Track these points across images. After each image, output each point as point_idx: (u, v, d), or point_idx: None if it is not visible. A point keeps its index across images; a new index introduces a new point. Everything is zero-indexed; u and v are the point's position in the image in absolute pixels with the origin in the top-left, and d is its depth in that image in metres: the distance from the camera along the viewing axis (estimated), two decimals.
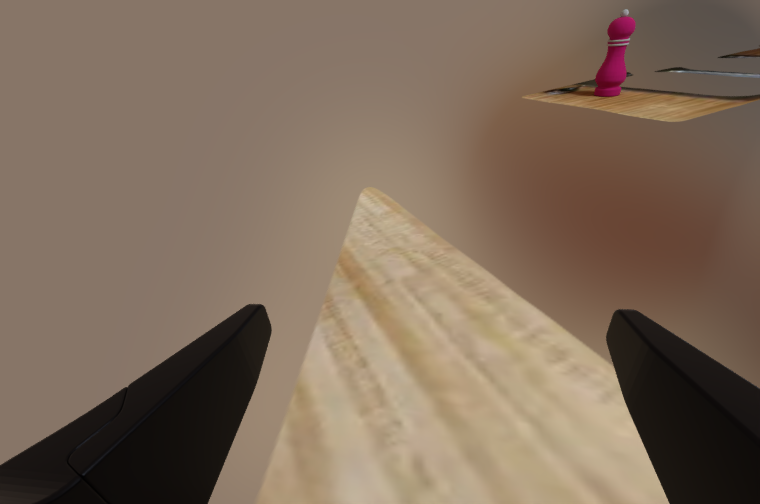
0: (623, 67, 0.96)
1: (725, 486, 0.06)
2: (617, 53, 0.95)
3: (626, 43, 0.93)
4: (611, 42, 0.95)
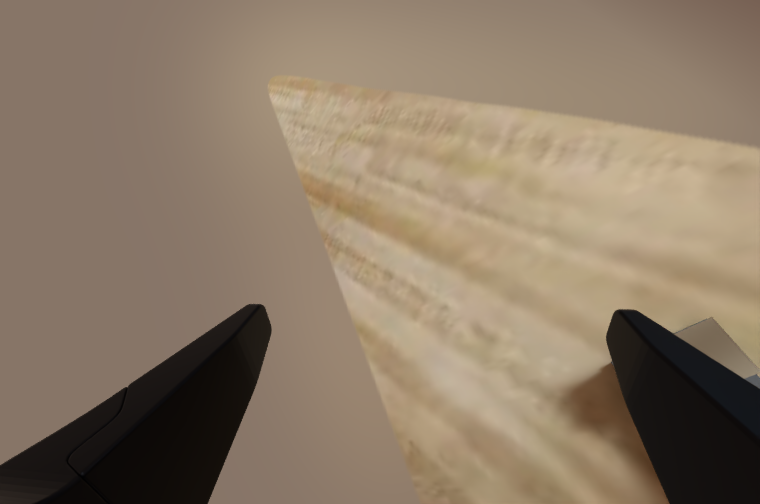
0: None
1: (725, 486, 0.06)
2: None
3: None
4: None
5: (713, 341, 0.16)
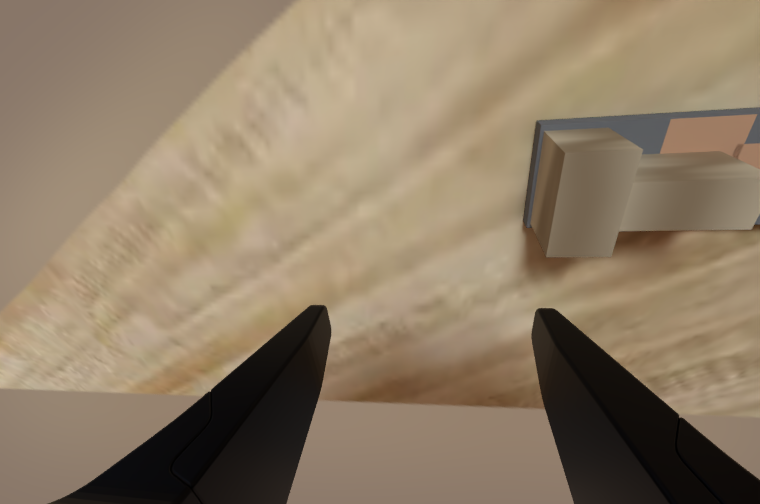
0: None
1: (603, 476, 0.06)
2: None
3: None
4: None
5: (587, 167, 0.13)
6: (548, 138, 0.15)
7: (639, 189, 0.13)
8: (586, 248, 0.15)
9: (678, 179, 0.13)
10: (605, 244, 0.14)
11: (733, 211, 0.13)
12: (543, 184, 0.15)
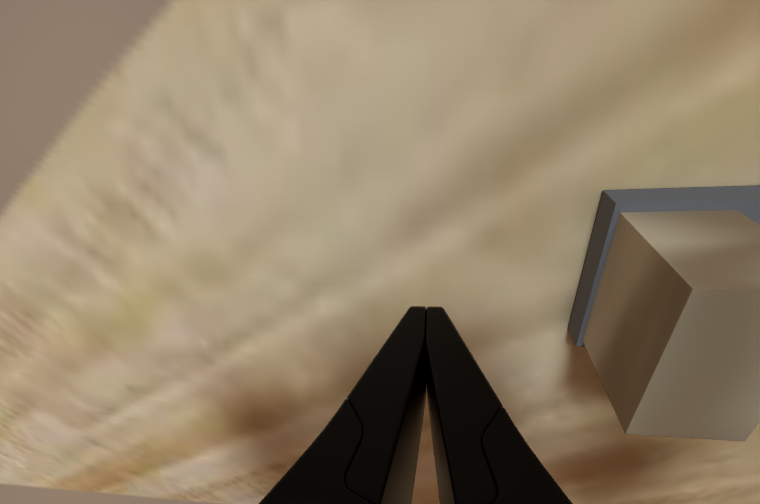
0: None
1: (440, 463, 0.06)
2: None
3: None
4: None
5: (733, 314, 0.07)
6: (633, 231, 0.08)
7: None
8: (701, 427, 0.08)
9: None
10: (739, 424, 0.08)
11: None
12: (618, 303, 0.09)
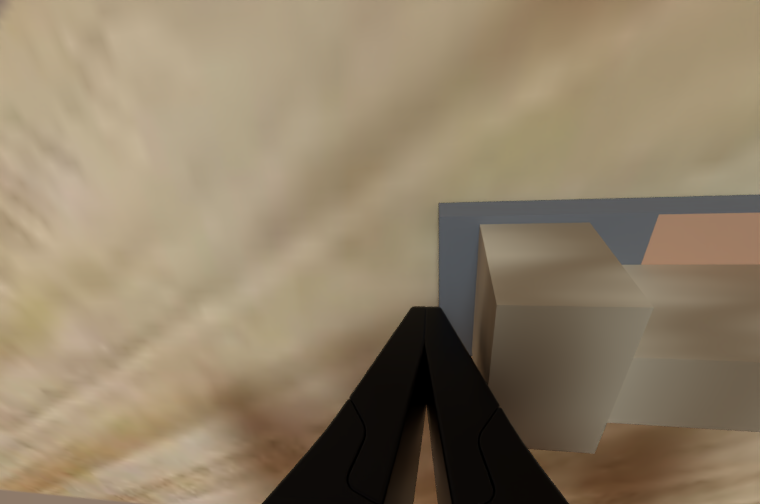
0: None
1: (438, 463, 0.06)
2: None
3: None
4: None
5: (542, 329, 0.07)
6: (482, 244, 0.08)
7: (645, 368, 0.07)
8: (550, 439, 0.08)
9: (722, 355, 0.07)
10: (584, 437, 0.08)
11: None
12: (479, 314, 0.09)
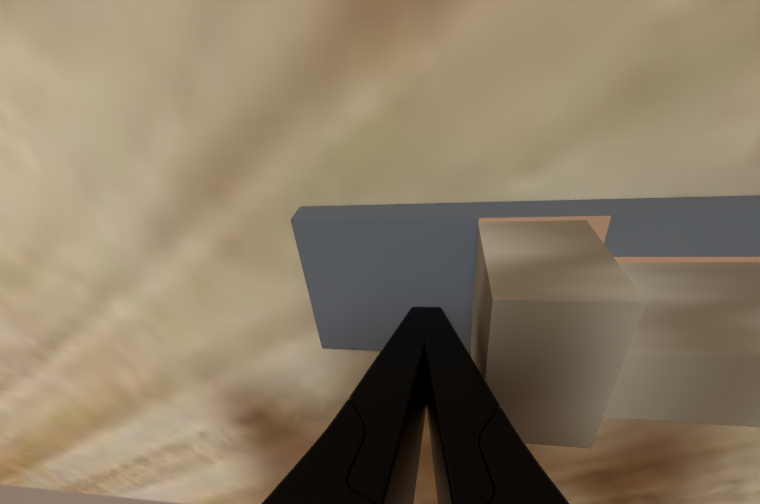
0: None
1: (438, 463, 0.06)
2: None
3: None
4: None
5: (538, 324, 0.07)
6: (480, 241, 0.08)
7: (638, 363, 0.07)
8: (546, 434, 0.08)
9: (716, 350, 0.07)
10: (579, 431, 0.08)
11: None
12: (477, 310, 0.09)
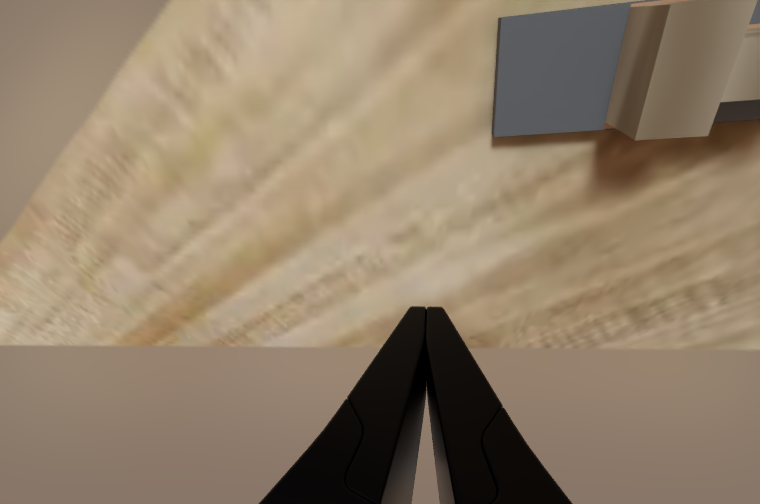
0: None
1: (440, 463, 0.06)
2: None
3: None
4: None
5: (693, 22, 0.12)
6: (638, 9, 0.14)
7: (749, 47, 0.12)
8: (681, 126, 0.14)
9: None
10: (703, 119, 0.13)
11: None
12: (629, 65, 0.14)
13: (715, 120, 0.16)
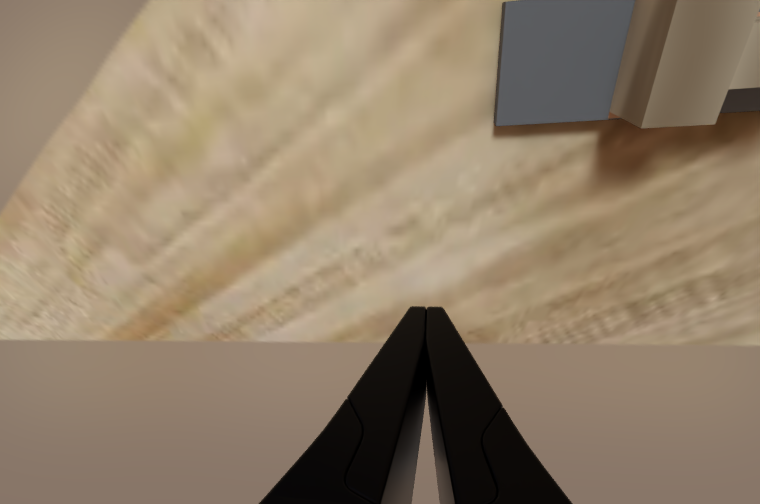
0: None
1: (440, 463, 0.06)
2: None
3: None
4: None
5: (704, 5, 0.12)
6: None
7: (759, 32, 0.12)
8: (688, 114, 0.13)
9: None
10: (711, 107, 0.13)
11: None
12: (636, 51, 0.14)
13: (720, 110, 0.16)
